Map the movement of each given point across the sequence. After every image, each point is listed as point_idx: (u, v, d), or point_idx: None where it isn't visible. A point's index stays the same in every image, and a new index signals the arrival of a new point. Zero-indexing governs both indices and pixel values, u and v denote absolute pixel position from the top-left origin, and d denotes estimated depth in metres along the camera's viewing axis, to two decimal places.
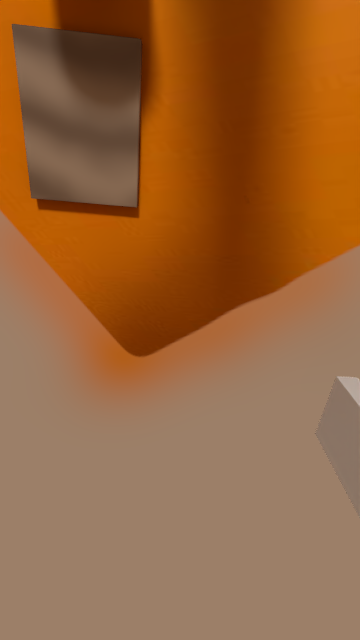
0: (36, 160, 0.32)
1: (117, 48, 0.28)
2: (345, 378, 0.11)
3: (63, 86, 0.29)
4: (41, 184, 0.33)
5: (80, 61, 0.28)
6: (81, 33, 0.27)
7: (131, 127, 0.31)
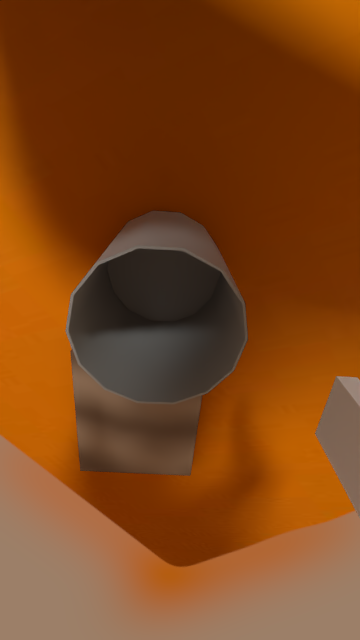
0: (88, 445, 0.30)
1: None
2: (345, 377, 0.11)
3: None
4: (91, 461, 0.31)
5: None
6: None
7: (190, 421, 0.29)
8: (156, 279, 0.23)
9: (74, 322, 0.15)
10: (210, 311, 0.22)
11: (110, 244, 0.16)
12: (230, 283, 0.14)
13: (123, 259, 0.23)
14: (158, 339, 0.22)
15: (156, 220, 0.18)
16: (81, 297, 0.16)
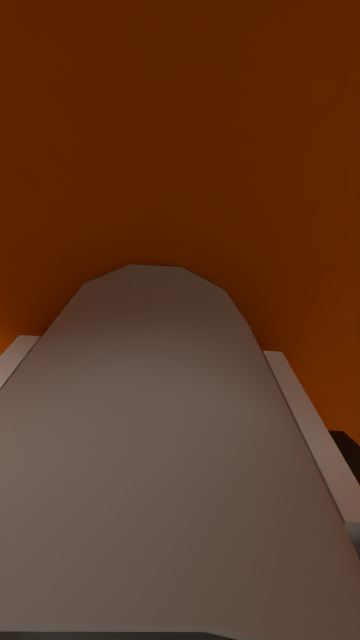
0: None
1: None
2: (271, 351, 0.12)
3: None
4: None
5: None
6: None
7: None
8: None
9: None
10: None
11: None
12: None
13: None
14: None
15: (128, 308, 0.08)
16: None
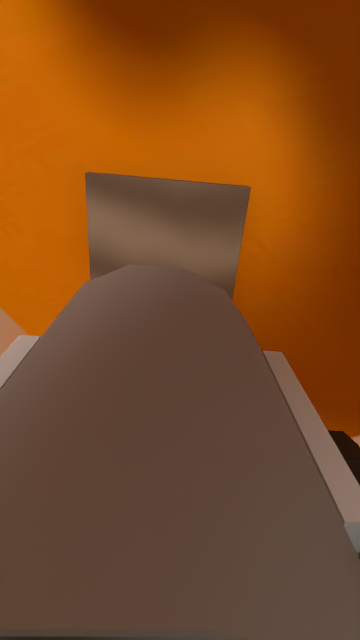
0: None
1: (219, 198, 0.22)
2: (271, 351, 0.12)
3: (145, 239, 0.23)
4: None
5: (170, 212, 0.22)
6: (174, 182, 0.21)
7: (225, 281, 0.24)
8: None
9: None
10: None
11: None
12: None
13: None
14: None
15: (128, 308, 0.08)
16: None
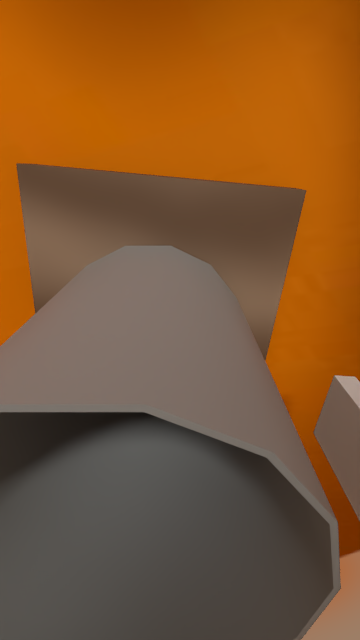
0: None
1: (250, 208, 0.13)
2: (344, 377, 0.11)
3: None
4: None
5: (167, 231, 0.13)
6: (174, 181, 0.12)
7: None
8: None
9: None
10: None
11: None
12: (296, 483, 0.05)
13: None
14: (145, 457, 0.13)
15: (119, 271, 0.10)
16: None
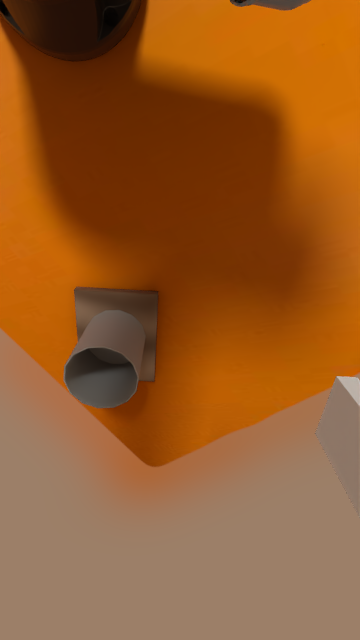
0: None
1: (142, 299, 0.42)
2: (346, 378, 0.11)
3: None
4: None
5: (118, 306, 0.43)
6: (119, 292, 0.42)
7: (151, 339, 0.45)
8: None
9: (67, 375, 0.36)
10: None
11: (80, 340, 0.37)
12: (125, 357, 0.34)
13: None
14: (113, 375, 0.43)
15: (103, 322, 0.39)
16: (69, 364, 0.37)
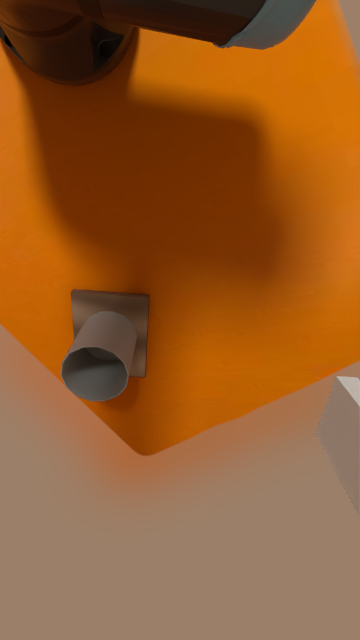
0: None
1: (134, 302, 0.46)
2: (346, 378, 0.11)
3: None
4: None
5: (111, 308, 0.46)
6: (112, 295, 0.45)
7: (142, 338, 0.49)
8: None
9: (64, 371, 0.40)
10: None
11: (76, 339, 0.41)
12: (117, 356, 0.38)
13: None
14: (107, 371, 0.47)
15: (97, 323, 0.43)
16: (66, 361, 0.40)
